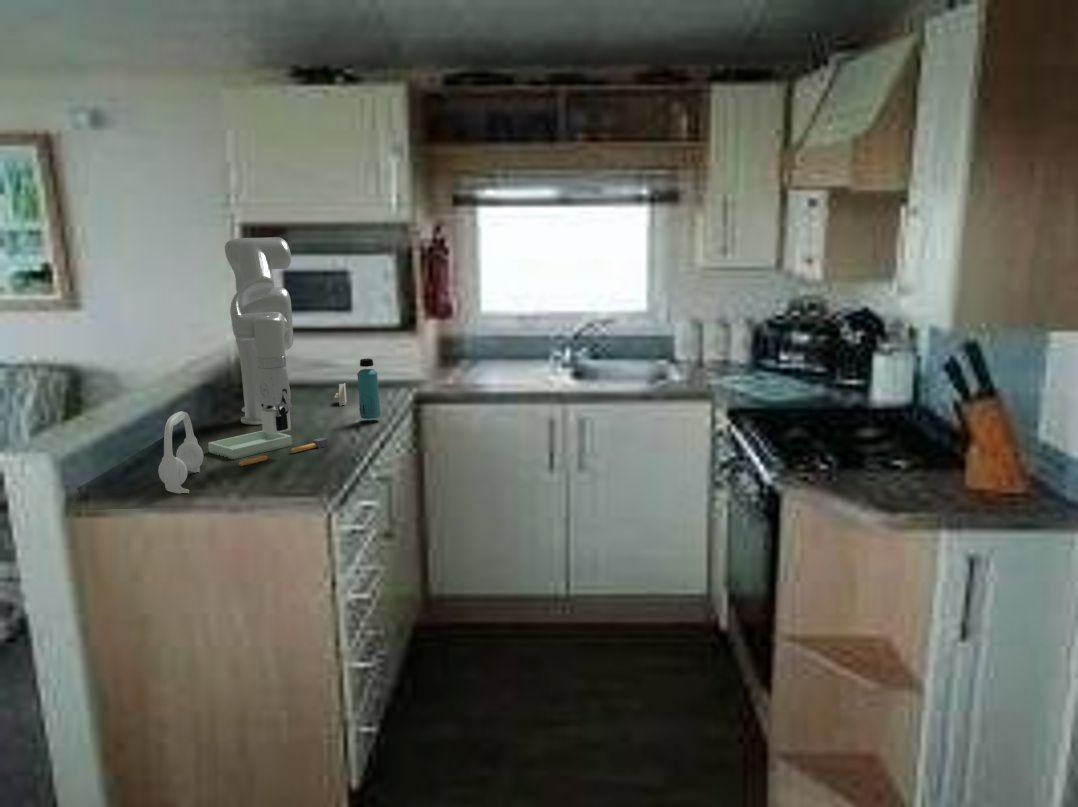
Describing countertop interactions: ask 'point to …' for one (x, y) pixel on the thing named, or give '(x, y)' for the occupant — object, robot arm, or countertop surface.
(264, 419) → the pale grey cuboid
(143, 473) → the countertop surface
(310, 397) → the countertop surface
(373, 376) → the beverage bottle
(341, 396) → the architectural model
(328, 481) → the countertop surface
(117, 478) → the countertop surface
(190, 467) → the headset
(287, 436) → the tray
